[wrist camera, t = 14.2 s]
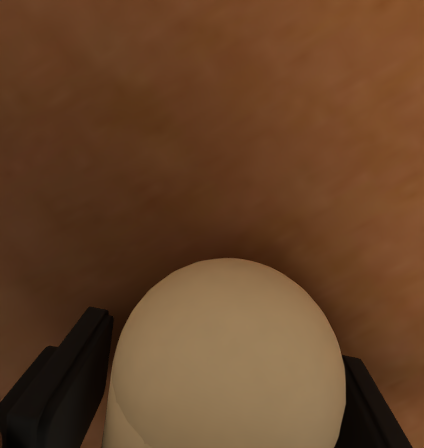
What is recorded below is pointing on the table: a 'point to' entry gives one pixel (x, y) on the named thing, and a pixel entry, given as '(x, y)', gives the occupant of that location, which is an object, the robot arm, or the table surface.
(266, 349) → the beige rounded capsule
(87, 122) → the table surface
